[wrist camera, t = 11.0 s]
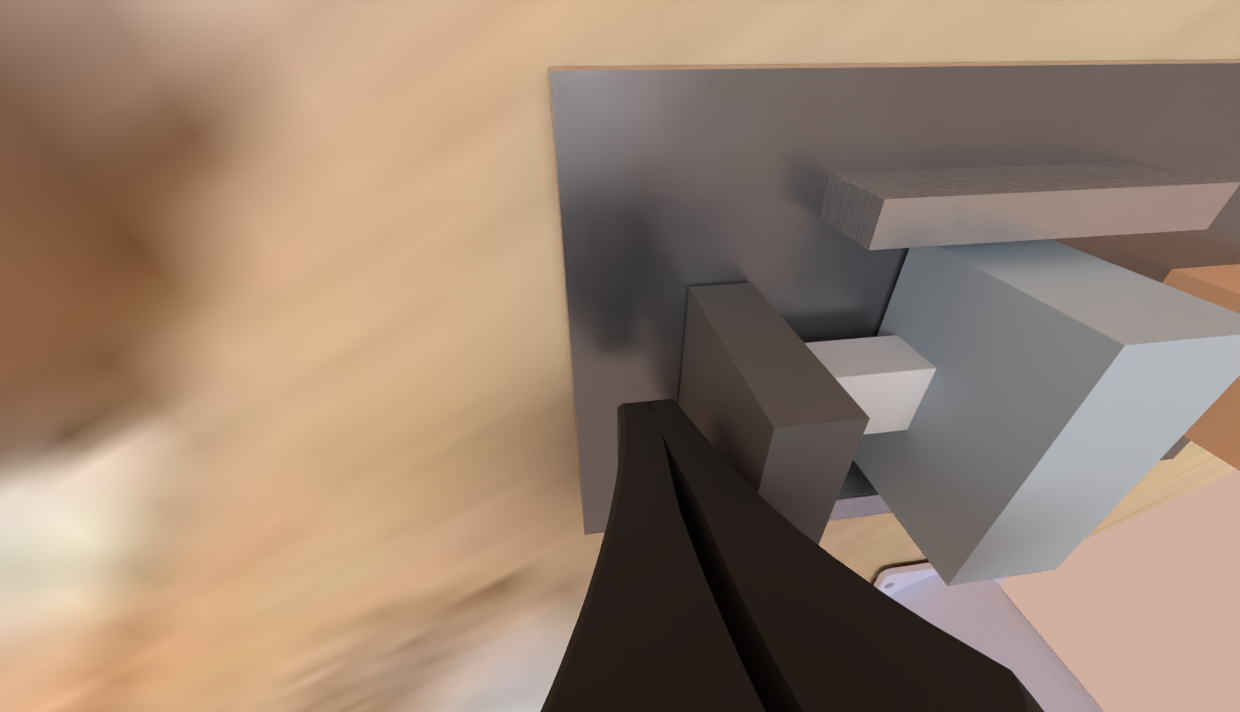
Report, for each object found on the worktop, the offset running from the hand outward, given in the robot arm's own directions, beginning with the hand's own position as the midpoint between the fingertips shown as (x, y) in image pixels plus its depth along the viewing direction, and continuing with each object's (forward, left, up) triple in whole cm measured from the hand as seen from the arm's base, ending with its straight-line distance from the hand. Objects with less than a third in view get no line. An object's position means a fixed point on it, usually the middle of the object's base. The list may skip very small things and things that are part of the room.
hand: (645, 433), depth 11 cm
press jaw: (0, -6, -2) cm, 6 cm away
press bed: (0, -11, -4) cm, 11 cm away
